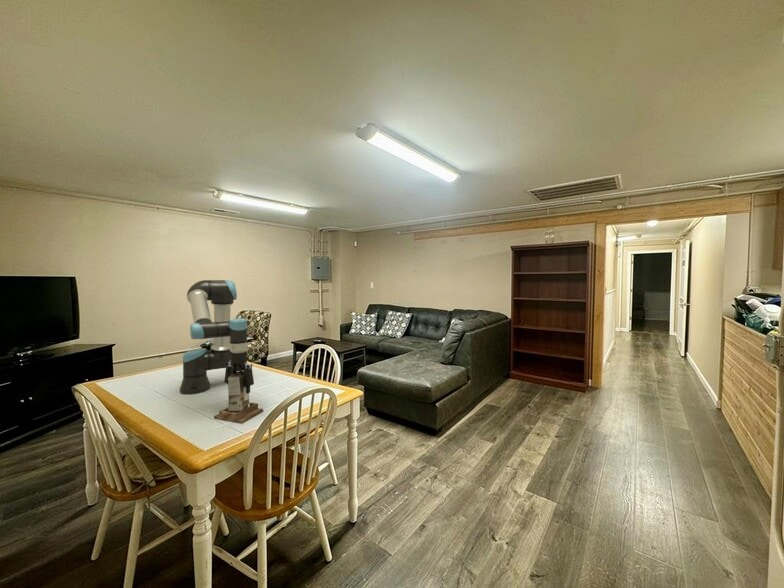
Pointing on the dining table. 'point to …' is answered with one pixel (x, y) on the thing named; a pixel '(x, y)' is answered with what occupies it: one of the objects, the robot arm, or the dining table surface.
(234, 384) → the coffee box
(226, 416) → the pocket board
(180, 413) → the dining table surface
